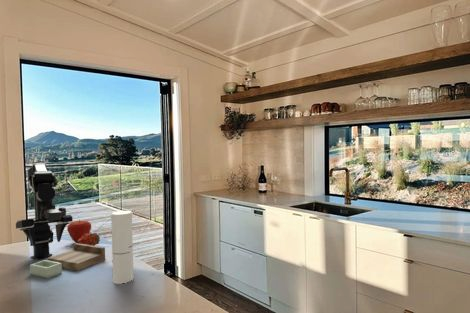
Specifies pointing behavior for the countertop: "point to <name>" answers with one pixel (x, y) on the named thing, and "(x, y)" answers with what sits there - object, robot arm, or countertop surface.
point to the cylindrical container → (122, 246)
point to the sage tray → (46, 269)
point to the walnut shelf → (80, 256)
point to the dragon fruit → (89, 239)
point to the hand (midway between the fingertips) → (46, 243)
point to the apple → (78, 229)
